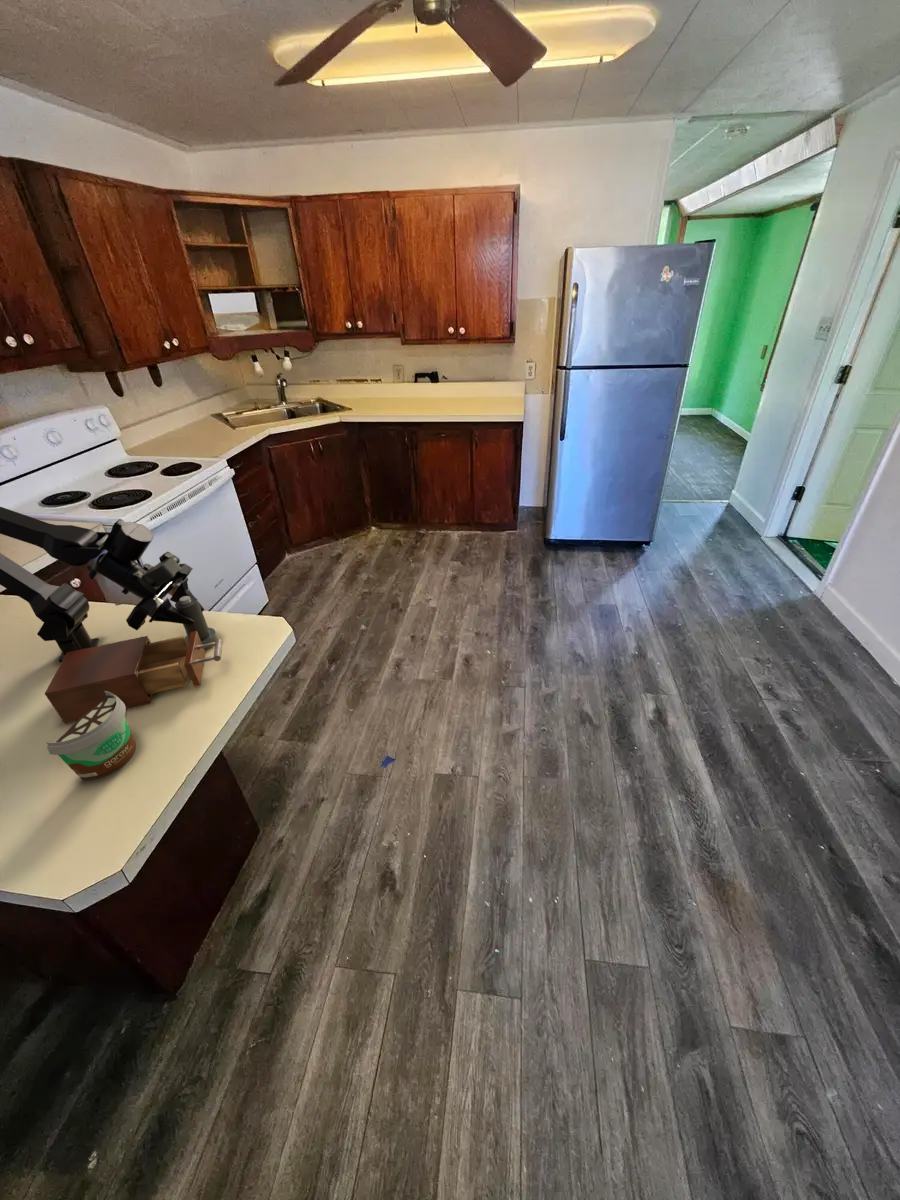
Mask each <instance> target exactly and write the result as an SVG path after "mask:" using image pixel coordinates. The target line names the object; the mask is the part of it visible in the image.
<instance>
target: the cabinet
mask: <svg viewBox="0 0 900 1200" xmlns="http://www.w3.org/2000/svg"><path fill="white" fill-rule="evenodd" d="M148 643H152V642H151V640H150V638H149V636H148V635H144V636H140V637H135V638H129V639H125V640H120V641H116V642H110V643H106V644H101V645H97V646H95V647H91V648H86V649H81V650H76V651H71V652H67V654H66V655H65V657H64V659H63V661H62V662H60V665H59V666H58V668H57V670H56V671H55V674H54V675H53V677H52V679H51V680H50V683H49V684H48V686H47V689H46V690H45V691H44V695H45V696H46V698H47V700H48V701H49V702H50V704H51V706H52V707H53V708H54V710H55V712H56V713H57V714H58V716H59V717H60V719H61V720H62V722H63V723H64V724H68V723H73V722H76V721H77V720H78V719H79V718H80V717H81V716H82V715H84V714H85V713H87V712H88V711H90V710H91V709H92V708H94V707H95V706H96V705H97V704H98V703H100V702H101V701H102V700H103V699H104V698H105V697H106V694H105V691H107V692H110V693H112V694H114V695H116V696H117V697H118V698H119V699H120V700H121V701H122V702H123V703H124V704H125V707H126V710H128V709H132V708H135V707H139V706H144V705H148V704H151V702H152V698H153V695H154V693H152V694H147V692H146V690H145V688H144V686H143V684H142V682H141V681H140V679H139V677H138V675H137V673H138V670H139V667H140V664H141V661H142V658H143V655H144V652H145V649H146V646H147V644H148Z"/></svg>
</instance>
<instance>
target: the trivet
mask: <svg viewBox="0 0 900 1200" xmlns="http://www.w3.org/2000/svg"><path fill="white" fill-rule="evenodd" d="M208 628H209V631H210V635H209V636H208V637H207V638H206V639H204V640H201V642H202V645H203V644H208V643H212V642H216V640H217V639H219V637H218V635H217V632H216V629H214V628H213V627H209V626H208ZM184 637H185V640H186V642H187V644H189V638H188V635H187V634H186V635H184ZM212 647H213V646H211V647H207V648H204V650H205V651H206V650H209V649H211V648H212Z"/></svg>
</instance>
